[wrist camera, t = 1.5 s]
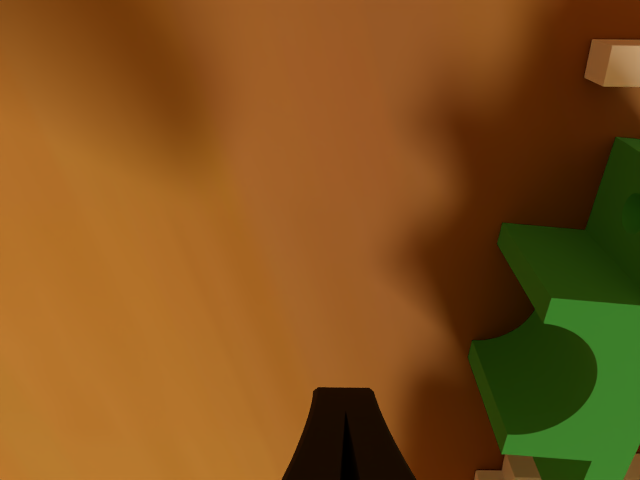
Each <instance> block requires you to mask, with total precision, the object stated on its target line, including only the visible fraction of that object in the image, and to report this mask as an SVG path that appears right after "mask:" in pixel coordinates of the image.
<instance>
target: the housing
mask: <svg viewBox="0 0 640 480" xmlns="http://www.w3.org/2000/svg"><path fill="white" fill-rule="evenodd" d="M584 78H586V79H588V80H590V81H592V82H594V83H597V84H599V85H601V86H603V87H640V40H621V39H592V42H591V47H590V52H589V57H588V61H587V66H586V71H585V76H584ZM474 480H542V479H541V477H540V474H539V472H538V469H537V467H536V464H535V462H534V460H533V457H532V456H520V455H507V454H505V456H504V461H503V466H502V470H476V472H475V478H474ZM623 480H640V454H635V456H634V458H633V460H632V462H631V464H630V466H629V468H628V471H627V473H626V475H625V477H624V479H623Z"/></svg>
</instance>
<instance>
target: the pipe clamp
mask: <svg viewBox="0 0 640 480" xmlns="http://www.w3.org/2000/svg"><path fill="white" fill-rule="evenodd" d="M497 245H498V247H499V248H500V250H501V252H502V254H503V255H504V257H505V259H506V260H507V262H508V264H509V266H510V267H511V269H512V271H513V272H514V274H515V276H516V278H517V279H518V281H519V283H520V284H521V286H522V288H523V289H524V291H525V293H526V295H527V296H528V298H529V300H530V301H531V303H532V305H533V307H534V308H535V310H534V311H533V313H532V314H531V316H530V317H529V318H528V319H527V320H526V321H525V322H524V323H523V324H522V325H520V326H519V327H518V328H516V329H515V330H513V331H511V332H509V333H507V334H505V335H503V336H500V337H497V338H493V339H488V340H472V343H471V347H470V350H469V354H468V360H469V363H470V365H471V368H472V371H473V374H474V377H475V380H476V383H477V386H478V388H479V391H480V394H481V397H482V400H483V403H484V406H485V409H486V411H487V414H488V417H489V420H490V423H491V426H492V429H493V432H494V434H495V437H496V440H497V443H498V446H499V449H500V452H501V454H507V455H520V456H532V457H533V460H534V462H535V464H536V467H537V469H538V472H539V474H540V477H541V479H542V480H623V479H624V477H625V475H626V473H627V471H628V468H629V466H630V464H631V462H632V460H633V458H634V456H635V453H636V451H637V449H638V447H639V445H640V139H633V138H623V137H616V138H615V141H614V144H613V147H612V150H611V153H610V156H609V159H608V162H607V165H606V168H605V171H604V174H603V177H602V180H601V183H600V186H599V189H598V192H597V195H596V198H595V201H594V204H593V207H592V210H591V213H590V216H589V219H588V222H587V225H586V228H585V230H580V229H569V228H557V227H546V226H535V225H523V224H512V223H502V226H501V230H500V234H499V238H498V242H497Z"/></svg>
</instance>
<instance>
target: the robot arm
mask: <svg viewBox="0 0 640 480" xmlns="http://www.w3.org/2000/svg"><path fill="white" fill-rule="evenodd" d="M282 480H416V478H415V476H414V475H413V473H412V471H411V470H410V468H409V466H408V465H407V463H406V461H405V459H404V458H403V456H402V454H401V452H400V450H399V448H398V447H397V445H396V443H395V441H394V439H393V437H392V435H391V433H390V431H389V429H388V427H387V425H386V423H385V420H384V418H383V416H382V414H381V411H380V409H379V406H378V403H377V401H376V398H375V394H374V392H373V391H372V390H371V389H370V388H328V387H318V388H317V389H315V390H314V391H313V398H312V403H311V408H310V412H309V415H308V418H307V421H306V424H305V427H304V430H303V433H302V435H301V438H300V440H299V443H298V445H297V448H296V450H295V453H294V455H293V457H292V460H291V462H290V464H289V466H288V468H287V470H286V472H285V474H284V476H283V478H282Z"/></svg>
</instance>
